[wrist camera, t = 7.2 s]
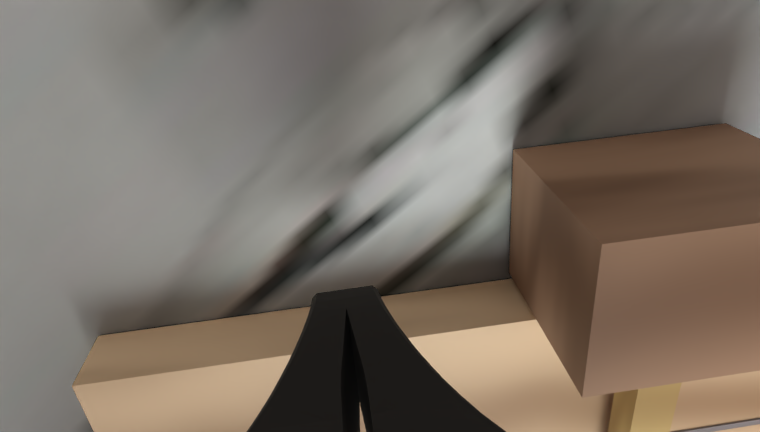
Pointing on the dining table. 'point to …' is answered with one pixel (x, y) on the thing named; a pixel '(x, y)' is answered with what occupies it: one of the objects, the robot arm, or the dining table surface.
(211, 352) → the board
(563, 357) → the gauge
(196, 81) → the dining table surface
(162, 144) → the dining table surface
